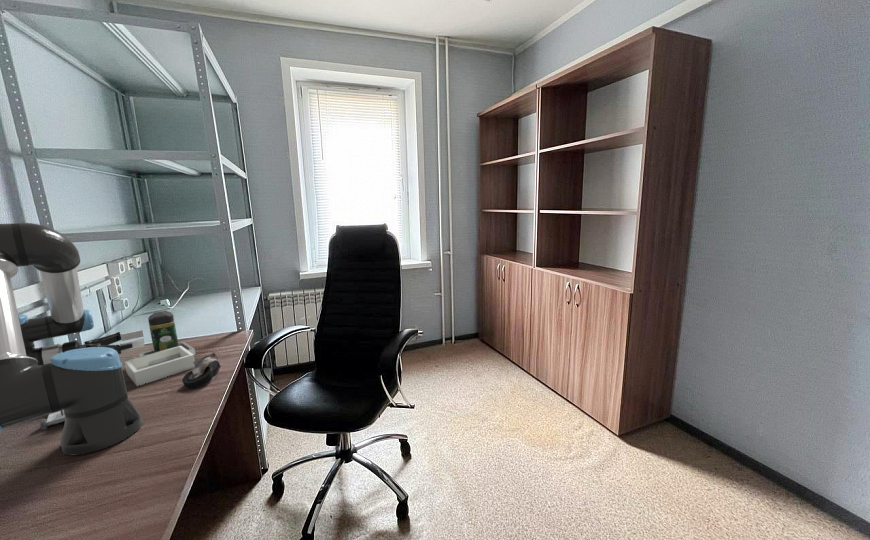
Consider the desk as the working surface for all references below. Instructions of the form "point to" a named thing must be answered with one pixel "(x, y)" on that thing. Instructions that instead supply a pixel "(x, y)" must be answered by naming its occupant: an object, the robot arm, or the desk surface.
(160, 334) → the coffee jar
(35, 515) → the desk surface
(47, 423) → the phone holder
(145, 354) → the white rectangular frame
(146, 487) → the desk surface
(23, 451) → the desk surface
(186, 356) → the tray
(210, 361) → the caster wheel
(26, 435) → the desk surface
